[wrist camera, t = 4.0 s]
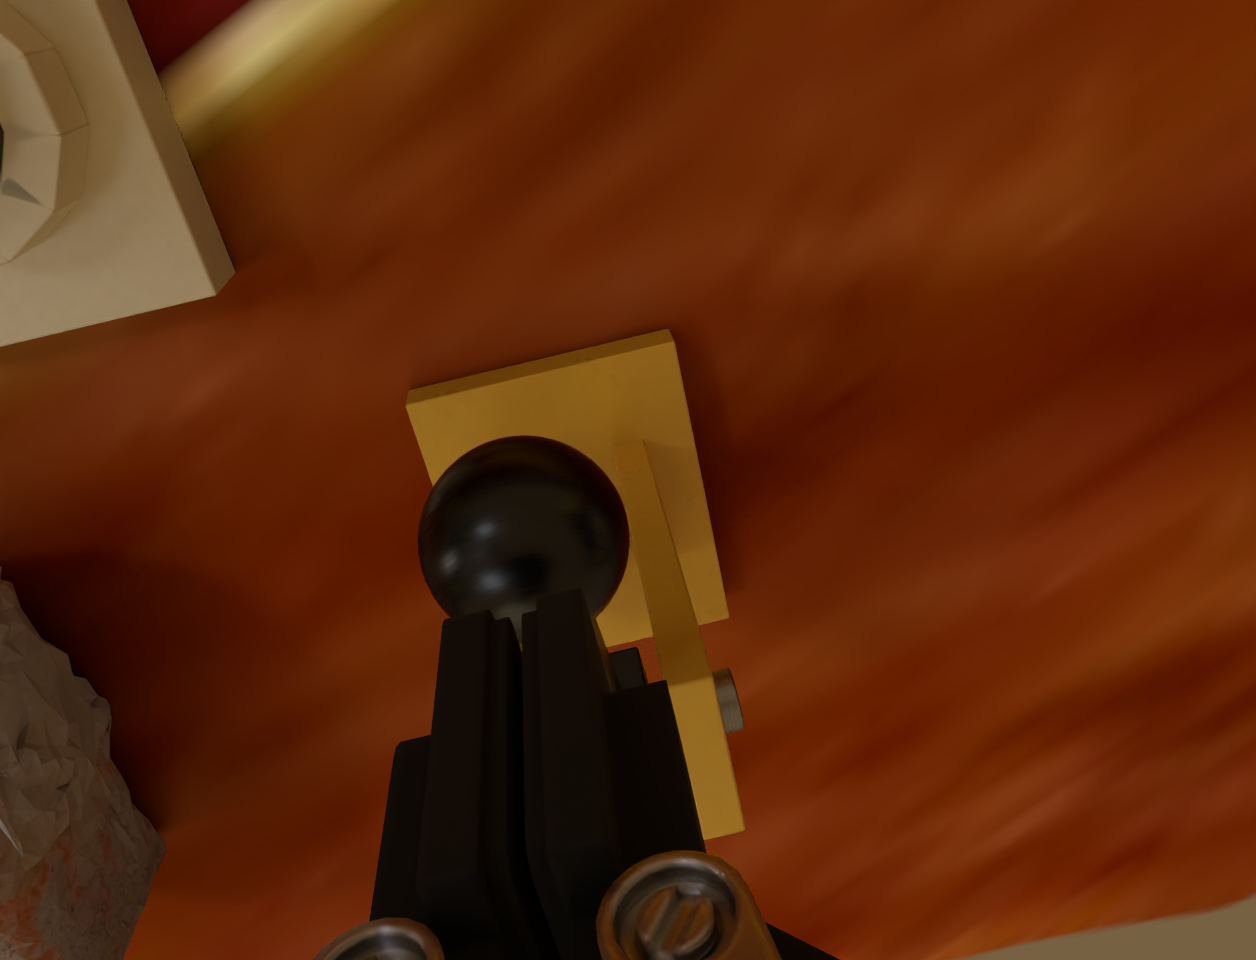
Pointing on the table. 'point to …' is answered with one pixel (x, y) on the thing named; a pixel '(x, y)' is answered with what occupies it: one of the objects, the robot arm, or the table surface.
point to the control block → (93, 176)
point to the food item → (63, 810)
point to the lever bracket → (656, 511)
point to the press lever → (527, 537)
